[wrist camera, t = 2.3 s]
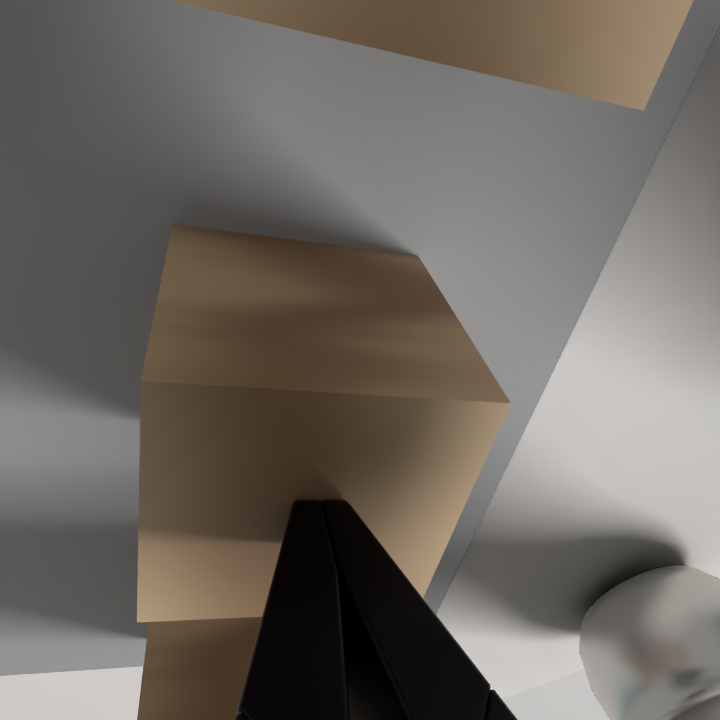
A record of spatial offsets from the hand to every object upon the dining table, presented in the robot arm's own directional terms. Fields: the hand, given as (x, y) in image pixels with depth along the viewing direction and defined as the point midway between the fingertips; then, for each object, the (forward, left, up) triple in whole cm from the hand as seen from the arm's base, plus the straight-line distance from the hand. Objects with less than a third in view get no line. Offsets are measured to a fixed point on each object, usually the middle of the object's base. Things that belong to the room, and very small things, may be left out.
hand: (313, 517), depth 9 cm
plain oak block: (0, 0, -5) cm, 5 cm away
